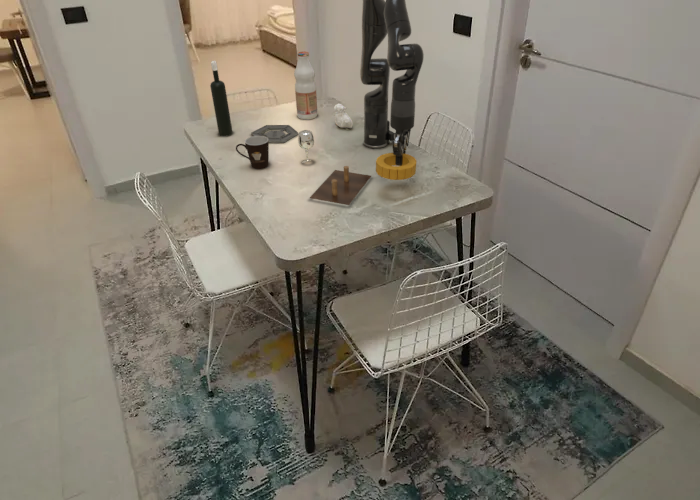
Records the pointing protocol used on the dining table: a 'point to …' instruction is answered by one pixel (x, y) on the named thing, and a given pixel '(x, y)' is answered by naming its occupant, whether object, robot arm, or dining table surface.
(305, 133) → the wineglass
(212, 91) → the wine bottle
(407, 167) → the yellow segmented ring
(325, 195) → the rack
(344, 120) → the bust
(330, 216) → the dining table surface
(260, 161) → the coffee mug
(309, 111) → the white milk bottle
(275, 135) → the grey hexagonal frame
